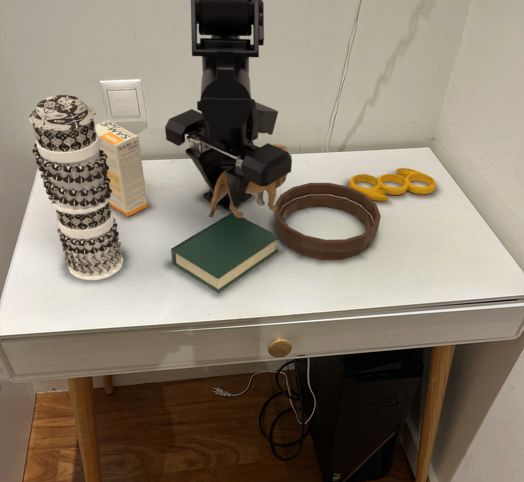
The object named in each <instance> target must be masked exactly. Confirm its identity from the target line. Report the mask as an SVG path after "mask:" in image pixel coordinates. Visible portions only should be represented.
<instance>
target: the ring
mask: <svg viewBox="0 0 524 482" xmlns="http://www.w3.org/2000/svg"><path fill="white" fill-rule="evenodd" d="M274 206H276V207H277V210H276V211H273V219H274V226H275V228H276V229H277V232H278V233H277V234H278V236H279V239H280V240H281V241H282V242H283V243H284V244H285V246H286V247H287V248H289V249H290V250H293V251H295V252H296V253H298V254H299V255H302V256H305V257H309V258H313V259H317V260H322V261H323V260H324V261H325V260H329V261H330V260H331V261H332V260H345V259H348V258H351V257H355V256H357V255H358V256H359V255H360V254H361V253H362V252H363V251H364V250H366V249H367V248H368V247H369V246H370V244H371V241H372V240H374V239H375V238H376V235H377V233H378V230H379V226H380V221H381V217H382V215H381V213H380V210H379V207H378V204H377V203H376V202H375V201H374V200H371V199H370V198H369V197H368V196H367V195H366V194H364V193H362V192H359V191H357V190H355V189H353V188H351V187H349V185H343V184H338V183H332V182H307V183H303V184H300V185H295V186H292V187H290V188H289V189H287V190H286V191H284V192H282V193H281V194H280V195H279V197H278V198H277V200H276V201H275V202H274ZM308 208H331V209H335V210H340V211H343V212H345V213H348V214H349V215H351V216H353V217H355V218H356V219H357V220H358V221H360V222H361V223H362V224H363V226H364V229H365V231H364V232H363V233H362V234H359V235H356V236H352V237H348V238H345V239H341V238H340V239H324V238H319V237H316V236H311V235H306V234H304V233H301V232H300V231H298V230H296V229H295V228H293V227H291V226H289V224H288V223H286V219H287V218H288V217H289V216H291V215H292V214H294V213H295V212H297V211H301V210H304V209H308Z"/></svg>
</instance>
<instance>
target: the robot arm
mask: <svg viewBox="0 0 524 482" xmlns="http://www.w3.org/2000/svg"><path fill="white" fill-rule="evenodd" d="M264 6H265V5H264V0H190V24H191V25H190V26H191V27H190V28H191V29H190V30H191V31H190V32H191V56H192V57H201V66H202V67H201V68H202V69H201V70H202V76H201V86H200V98H199V99H200V100H198V101H196V109H197V110H195V109H193V108H190V109H189V110H187V111H184V112H182V113H179V114H177V115H175V116H172V117H170V118H168V120H167V122H166V124H165V126H164V131H165V132H164V133H165V140H166V141H168V142H169V143H172V144H173V145H176V146H177V147H180V146H182V145H184V143H185V142H186V140H187V141H188V147H187V148H186V149H185V150H184V152H185V154H186V156H188V157H189V158H190V159H191V160H192V162H193V164H194V165H195V167H196V169H197V170H198V172H199V173H200V175H201V176H202V178H203V179H204V182H205V183H206V185H207V186H208V191H206V192H204V193H203V194H202V197H203V198H204V199H205V200H207V201H209V202H211V201H212V198H213V195H214V189H215V185H216V182H217V180H218V178H219V176H220V175H221V174H222V173H223V172H224V171H225V170H227V169H228V170H227V171H225V173H226V178H227V182H228V187H229V191H230V196H231V200H232V203H233V206H234V207H237V208H238V207H239V206H240V205H242V203H244V202H245V201H247V200H249V199H250V198H252V196H253V194H248V193H245V192H246V190H247V188H248V185H249V183H250V181H251V182H253V183H255V184H257V185H259V186H268V185H270V184H271V183H273V182H275V181H276V180H278V179H280V178H281V177H283V176H285V175H286V174H287V175H288V174H290V173H291V172H292V166H293V165H292V164H293V158H292V157H293V156H292V155H291V154H290V152H289V151H288V152H289V153H288V152H287V151H285V150H282V149H280V148H278V147H276V146H273V144H272V143H270V142H267V143H266V144H265V143H264V145H261V146H258V145H255V143H254V141H256V140H257V139H259V134H268V135H270V136H271V135H273V134H274V130H275V126H276V122H277V118H278V114H279V111H278V110H276V109H274V108H272V107H270V106H267V105H265V104H262V103H260V102H257V101H256V99H254V98H252V91H251V79H250V58H260V46H264V45H265V44H264V43H265V17H264V16H265V13H264V11H265V9H264V8H265V7H264ZM198 34H199V35H200V36H210V37H201V38H200V37H199V42H198ZM252 34H253V36H252ZM250 36H252V37H253V43H252V42H251V41H252V39H250V38H241V37H250ZM216 206H218V207H220V208H222V209H224V210H225V211H231V209H230V198H229V195H228V193H227V194H226V195H225V196H224V197H223V198H221V199H220V200H219V201H218V203H217V204H216Z"/></svg>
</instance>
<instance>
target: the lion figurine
mask: <svg viewBox="0 0 524 482" xmlns="http://www.w3.org/2000/svg"><path fill="white" fill-rule="evenodd" d="M272 145H273V146H276V147H278V148H280V149H282V150H285V151H287V152H288V153H289V154H290V152H289V150H288V147H287V146H285V145H283V144H281V143H280V144H279V143H274V144H272ZM227 170H228V169H227ZM227 170H225V171H227ZM225 171H224V172H223V173H222V174H221V175H220V176H219V178H218V180H217V182H216V185H215V189H214V195H213V198H212V201H210V213H209V215H208V218H209V219H210V218H214V216H215V215H216V214H219V213H220V209H219V208H218V207H217V203H218V201H219V200H220V199H221V198H223V197H224V196H225V195H226V194H227V193H228V195H229V198H230V211H231V213H232V212H233V213H234V215H235V216H236V217H237V218H243V217H244V218H245V215H244V212H242V211H239V209H238V206H237V207H234V206H233V203H232V200H231V196H230V191H229V187H228V182H227V178H226V173H225ZM287 176H288V174H286V175H285V176H283V177H281V178H280V179H278V180H276V181H275V182H273V183H271V184H270V185H268V186H259V185H257V184H255V183H253V182H251V181H250V183H249V185H248V188H247V190H246V192H245V193H248V194H252V195H254V194H256V205H257V206H261V207H262V206H264V205H265V203H266V202H265V201H264V191H266V194H267V207H268V209H269V210H270V211H273V212H274V211H276V210H277V207H276V206H274V205H275V202H276V201H275V200H276V196H277V189H278V188H279V187H281V186H282V185H283V184H284V183H285V182H286V180H287Z"/></svg>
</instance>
